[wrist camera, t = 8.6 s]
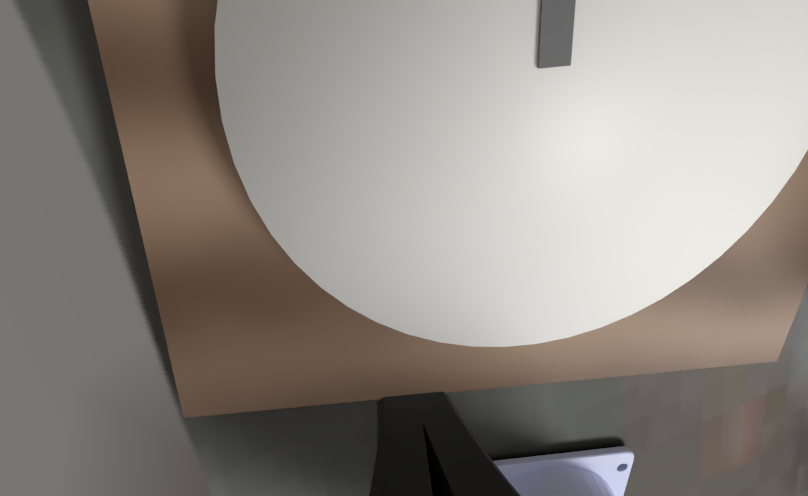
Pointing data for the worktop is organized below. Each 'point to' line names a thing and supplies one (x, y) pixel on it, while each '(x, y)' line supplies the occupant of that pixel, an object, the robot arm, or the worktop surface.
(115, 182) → the worktop surface
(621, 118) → the dial
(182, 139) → the dial board
